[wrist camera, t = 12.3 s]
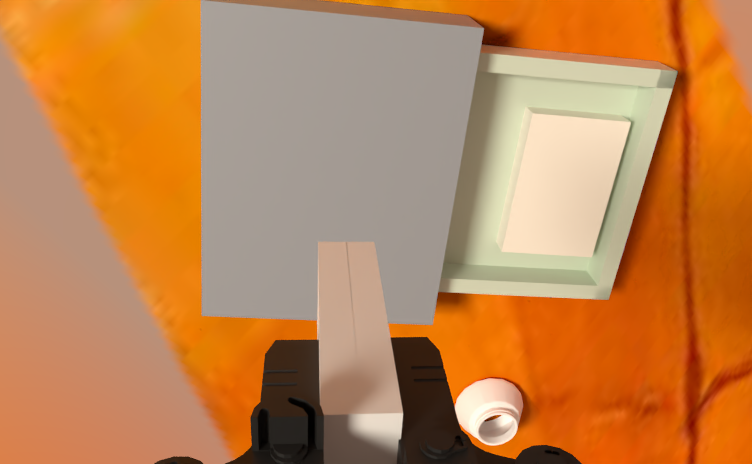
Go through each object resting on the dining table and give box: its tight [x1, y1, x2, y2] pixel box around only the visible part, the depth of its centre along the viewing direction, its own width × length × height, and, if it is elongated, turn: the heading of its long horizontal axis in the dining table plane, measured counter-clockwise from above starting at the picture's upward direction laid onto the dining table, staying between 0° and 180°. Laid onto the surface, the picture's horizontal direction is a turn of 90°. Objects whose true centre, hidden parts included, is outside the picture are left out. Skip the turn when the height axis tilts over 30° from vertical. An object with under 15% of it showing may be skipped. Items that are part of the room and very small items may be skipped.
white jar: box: [455, 378, 523, 445], centre depth 50 cm, size 5×3×5 cm
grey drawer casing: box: [201, 0, 484, 325], centre depth 39 cm, size 18×14×4 cm
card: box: [496, 106, 631, 257], centre depth 42 cm, size 9×6×1 cm, turn 173°
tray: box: [438, 44, 678, 300], centre depth 42 cm, size 15×12×2 cm
